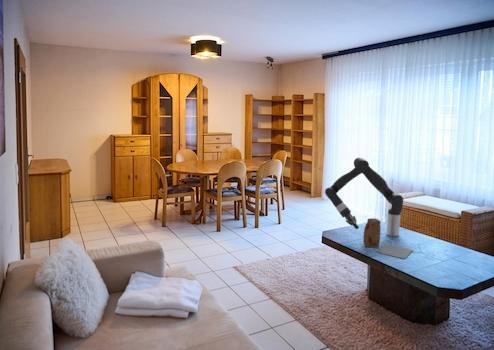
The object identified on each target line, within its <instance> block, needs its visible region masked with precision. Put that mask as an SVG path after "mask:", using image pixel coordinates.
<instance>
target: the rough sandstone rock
mask: <svg viewBox="0 0 494 350" xmlns="http://www.w3.org/2000/svg"><path fill="white" fill-rule="evenodd" d="M381 222H382V221H381V220H379V219H378V218H368V219H367V222H366V224H365V226H364V229H363V246H364V247H366V248H370V247H371V248H377V247H379V245H380V242H381V241H380V240H381Z"/></svg>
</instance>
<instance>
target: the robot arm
mask: <svg viewBox="0 0 494 350" xmlns="http://www.w3.org/2000/svg"><path fill="white" fill-rule="evenodd" d="M353 167H354V168H353V169H352V170H350V171H348V172H347V173H345V174H343V175H341V176H340V177H339V178H338V179H336V180H335V181H334V183H333V184H332V185H331V186H329V187H327V188H325V191H324V194H325V196H326V197H327V198H328V199H329V200H330V202H331V203H332V204H333V206H334V207H335V209H336V210H337V212H338V213H339V214H340V216H341V218H345V222H346V223H347V224H348V225H350V226H353V228H354V229H355V230H358V229H359V228H360V227H359V225H358V224H357V218H356V216H355V215H352V212H351V209H350V208H349V207H348V206H347V204H346V203H345V202H344V201H343V199H341V197H340V196H339V195H338V193H339V191H340V190H342V189H343V188H344V187H345V186H346V185H347V184H348V183H350V182H351V181H352V180H354V179H355V178H357V177H358V176H359V175H361V174H363V176H364V177H365V178H366V179H367V181H368V182H369V183H370V184H371V185H372V186H373V187H374V188H375V189H376V190H377V191H378V192H379V193H380V194H381V195H382V196H383V197H384V198H385V200H386V201H387V202H388V203H389V204H390V205H391V208H389V209H388V212H387V213H388V214H387V222H386V232H385V233H386V235H387V236H389V237H399V234H400V225H401V214H402V211H403V205H404V198H403V196H402V195H401V194H399V193H396V192H394V191H393V190H392V189H391V188H390V187H389V186H388V184H387V181H386V180H385V179H384V178H383V176H381V175H380V174H379V173H378V172H377V171H376V170H374V169H373V168H372V167H370V163H369V162H368V160H366V159H365V158H363V157H357V158H355V159H354V160H353Z"/></svg>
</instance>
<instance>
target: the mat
mask: <svg viewBox="0 0 494 350" xmlns="http://www.w3.org/2000/svg"><path fill="white" fill-rule="evenodd" d="M413 251H414V249H410V248H404V247H400V246H397V245H396V246H395V245H391V244H387V243H384V244H383V245H381V246H380V247H378V249H376V250H374V252H375V253H377V254H379V255H380V254H381V255H385V256H390V257H393V258H397V259H401V260H402V259H403V260H405V259H407V258H408V257H409V256H410V254H411V253H413Z"/></svg>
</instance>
